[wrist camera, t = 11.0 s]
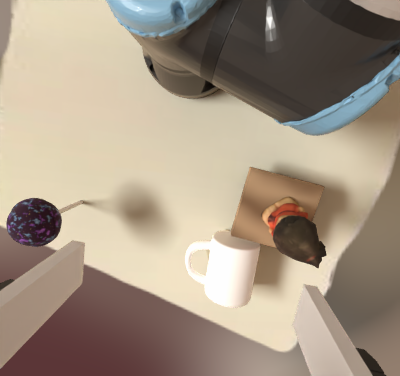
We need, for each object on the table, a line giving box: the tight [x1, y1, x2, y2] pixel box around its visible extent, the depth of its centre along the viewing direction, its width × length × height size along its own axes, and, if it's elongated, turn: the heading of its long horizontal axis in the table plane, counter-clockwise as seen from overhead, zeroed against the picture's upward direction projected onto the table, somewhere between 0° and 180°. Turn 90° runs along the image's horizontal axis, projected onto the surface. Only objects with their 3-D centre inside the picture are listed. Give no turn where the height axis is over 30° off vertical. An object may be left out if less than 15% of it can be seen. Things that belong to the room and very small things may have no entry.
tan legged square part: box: [231, 167, 324, 248], centre depth 41 cm, size 11×11×6 cm
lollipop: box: [7, 198, 83, 247], centre depth 39 cm, size 7×7×15 cm
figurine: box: [261, 197, 326, 268], centre depth 32 cm, size 6×6×12 cm
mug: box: [185, 230, 261, 308], centre depth 42 cm, size 12×10×8 cm
